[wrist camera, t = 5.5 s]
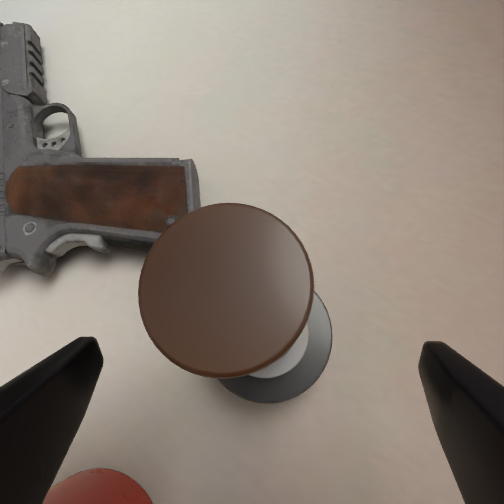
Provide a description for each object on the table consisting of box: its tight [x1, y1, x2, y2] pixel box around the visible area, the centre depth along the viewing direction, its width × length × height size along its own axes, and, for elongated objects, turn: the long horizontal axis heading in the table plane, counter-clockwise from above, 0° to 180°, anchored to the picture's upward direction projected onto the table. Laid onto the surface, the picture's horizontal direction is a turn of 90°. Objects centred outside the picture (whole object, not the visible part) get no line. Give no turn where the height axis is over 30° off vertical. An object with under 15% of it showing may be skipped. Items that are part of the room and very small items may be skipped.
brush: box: [138, 203, 332, 403], centre depth 11 cm, size 6×6×14 cm
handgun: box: [0, 22, 201, 275], centre depth 22 cm, size 3×22×14 cm
